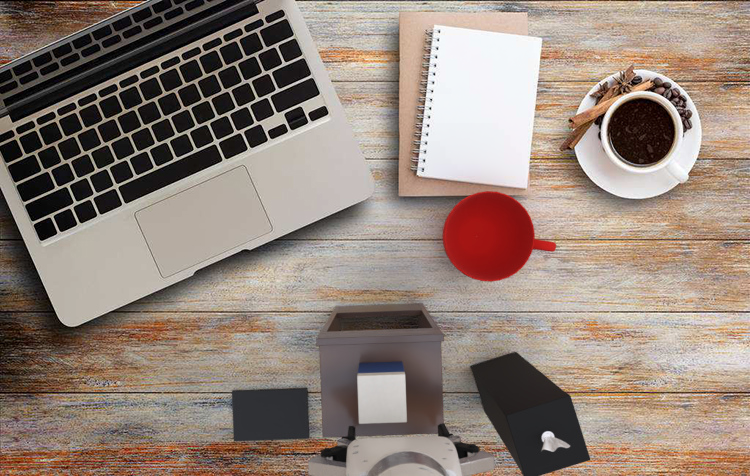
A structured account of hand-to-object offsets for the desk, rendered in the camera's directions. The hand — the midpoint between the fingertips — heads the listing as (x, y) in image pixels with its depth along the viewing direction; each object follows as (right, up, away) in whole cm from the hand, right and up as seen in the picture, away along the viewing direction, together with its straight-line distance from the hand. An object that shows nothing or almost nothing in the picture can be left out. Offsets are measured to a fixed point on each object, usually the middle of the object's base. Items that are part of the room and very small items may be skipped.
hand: (396, 439), depth 59 cm
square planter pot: (-1, +5, +29) cm, 29 cm away
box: (-2, +5, +4) cm, 7 cm away
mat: (-19, -7, +29) cm, 35 cm away
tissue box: (+18, -1, +29) cm, 34 cm away
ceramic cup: (+16, +22, +29) cm, 40 cm away
